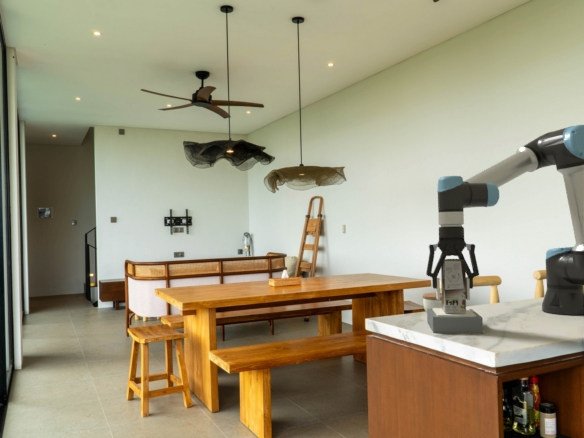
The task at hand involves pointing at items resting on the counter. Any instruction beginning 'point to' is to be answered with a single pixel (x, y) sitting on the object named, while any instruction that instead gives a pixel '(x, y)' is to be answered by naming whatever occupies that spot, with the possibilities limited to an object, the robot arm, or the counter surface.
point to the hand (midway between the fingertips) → (452, 299)
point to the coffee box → (453, 286)
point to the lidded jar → (431, 301)
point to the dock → (454, 321)
